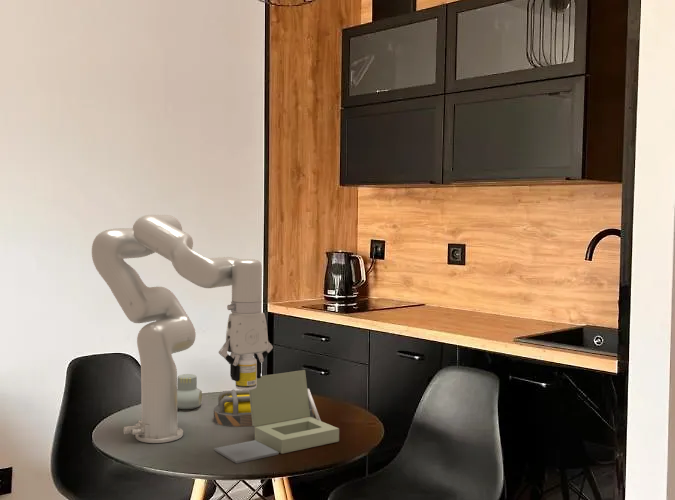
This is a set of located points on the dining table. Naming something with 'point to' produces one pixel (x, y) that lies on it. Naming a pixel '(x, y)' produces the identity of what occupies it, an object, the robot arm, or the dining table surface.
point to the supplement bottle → (247, 372)
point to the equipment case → (287, 414)
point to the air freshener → (188, 392)
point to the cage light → (238, 409)
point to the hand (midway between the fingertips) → (246, 378)
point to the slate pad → (246, 451)
